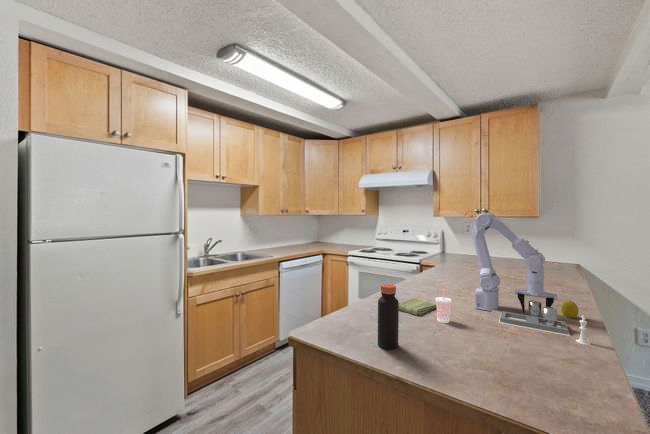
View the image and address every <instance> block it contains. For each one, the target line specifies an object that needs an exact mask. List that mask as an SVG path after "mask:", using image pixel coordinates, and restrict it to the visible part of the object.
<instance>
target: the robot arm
mask: <svg viewBox="0 0 650 434" xmlns="http://www.w3.org/2000/svg"><path fill="white" fill-rule="evenodd" d="M473 221H474V222H473V225H472V227H471V231H470V233H471V238H472V240H473V245H474V249H475V254H476V257H477V260H478V265H479V268H480V271H479V278H480V279H479V286H480V287H476V289H475V301H474V303H475V304H474V306H475V307H474V308H475V309H477V310H482V311H487V312H493V310H499V306H500V305H499V304H500V303H499V302H500V300H499V299H500V298H499V297H500V295H499V294H500V289H499V287H498V286H500V284H501V279H500V277H499V275H498V274H497V272H496V270H495V269H494V266H493V264H492V259H491V256H490V252H489V247H488V244H487V241H486V240H487V239H486V237H485V234H486V232H487V231H488V230H489V229H493V230H496V231H498V232H499V233H501V234H502V235H503V236H504V237H505V238H506V239H507V240H508V241H509V242H510V243H511V245H512V246H511V247H512V249H514V250H515V251H516V252H517V254H518V255H519V256H521V257H522V258H523V259H524V260H525V263H526V265H527V270H526V271H527V273H526V275H527V276H526V280H527V281H526V282H527V283H526V289H517V288H515V289H514V295H517V300H519V302H520V306H521V309H522V313H523V314H524V313H526V308H525V306H526V305H525V298H526V297H534V298H542V299H545V307H552V305H553V304H554V302H555V301H558V294H556V293H549V292H545V291H544V290H545V287H544V286H545V271H544V270H545V268H544V267H545V266H544V264H545V262H546V257H545V256H544V254H543V253H541V252H539V250H538V249H536V248H534V247H533V246H532V245H531V244H530V241H529V240H528V239H524V238H521V237H518V236H517V235H516V234H515V233H514V231H513V230H511V229H510V228H509V226H507V224H505V222H504V221H502V220H501V219H500V218H499V217H497V216H496V215H495V214H494V213H492V212H491V213H490V212H487V213H486V212H483V213H482V212H481V213H480V214H478V215H477V216H476V217H475V218H474V219H473Z"/></svg>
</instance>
